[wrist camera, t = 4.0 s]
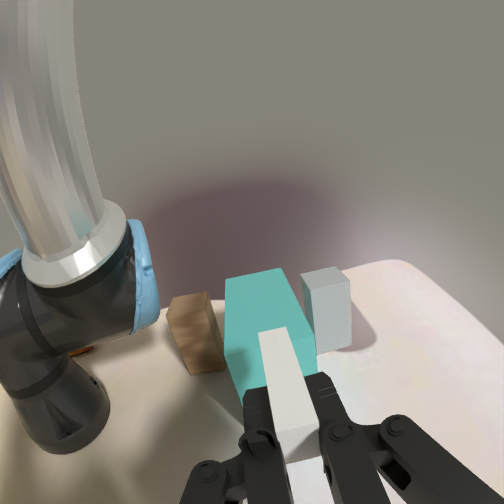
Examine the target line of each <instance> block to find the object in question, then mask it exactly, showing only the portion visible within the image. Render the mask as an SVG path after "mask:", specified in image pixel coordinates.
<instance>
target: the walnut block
mask: <svg viewBox="0 0 504 504" xmlns="http://www.w3.org/2000/svg"><path fill="white" fill-rule="evenodd" d="M166 318H167V320H168V323H169V326H170V328H171V331H172V333H173V336H174V338H175V341H176V343H177V345H178V348H179V350H180V352H181V355H182V357H183V359H184V362H185V364H186V366H187V368H188V371H189V373H190V375H194V374H202V373H209V372H216V371H222V370H225V356H224V344H223V340H222V337H221V334H220V331H219V328H218V325H217V321H216V318H215V315H214V311H213V308H212V305H211V301H210V298H209V295H208V291H205V292H200V293H195V294H190V295H185V296H179V297H175V298H173V299H172V301H171V304H170V306H169V309H168V311H167V314H166Z"/></svg>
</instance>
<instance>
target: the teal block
mask: <svg viewBox="0 0 504 504" xmlns="http://www.w3.org/2000/svg"><path fill="white" fill-rule="evenodd" d="M225 286H226V288H225V326H224V356H225V359H226V362H227V365H228V368H229V371H230V373H231V376H232V379H233V382H234V385H235V388H236V390H237V393H238V396H239V399H240V401H241V404H242V407H243V402H242V398H243V396H244V394H245V391H246V390H247V389H253V388H258V387H263V386H267V382H266V376H265V371H264V365H263V359H262V354H261V348H260V342H259V336H258V333H259V332H263V331H268V330H272V329H277V328H281V327H285V326H286V329H287V331H288V334H289V337H290V340H291V343H292V346H293V349H294V351H295V354H296V357H297V360H298V363H299V366H300V369H301V372H302V374H303V377H304V376H308V375H312V374H315V373H318V371H317V359H316V347H315V336H314V333H313V331H312V329H311V327H310V325H309V323H308V321H307V319H306V317H305V315H304V313H303V311H302V309H301V307H300V305H299V303H298V301H297V299H296V297H295V295H294V293H293V291H292V289H291V287H290V285H289V283H288V281H287V280H286V277H285V275H284V273H283V271H282V269H281V268H277V269H272V270H268V271H263V272H258V273H254V274H249V275H244V276H240V277H235V278H230V279H226V285H225Z"/></svg>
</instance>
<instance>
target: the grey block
mask: <svg viewBox="0 0 504 504" xmlns="http://www.w3.org/2000/svg"><path fill="white" fill-rule="evenodd" d="M300 277H301V284H302V292H303V300H304V307H305V315H306V319H307V321H308V323H309V325H310V327H311V329H312V331H313V333H314V336H315V347H316V354H317V355H319V354H323V353H326V352H330V351H333V350H337V349H340V348H343V347H347V346H350V345H351V297H350V280H349V279H348V278H347V277H346V276H345V275H344V274H343V273H342V272H341V271H340V270H339V269H338V268H337V267H336V266H334V267H329V268H325V269H321V270H317V271H313V272H308V273H304V274H300Z"/></svg>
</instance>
